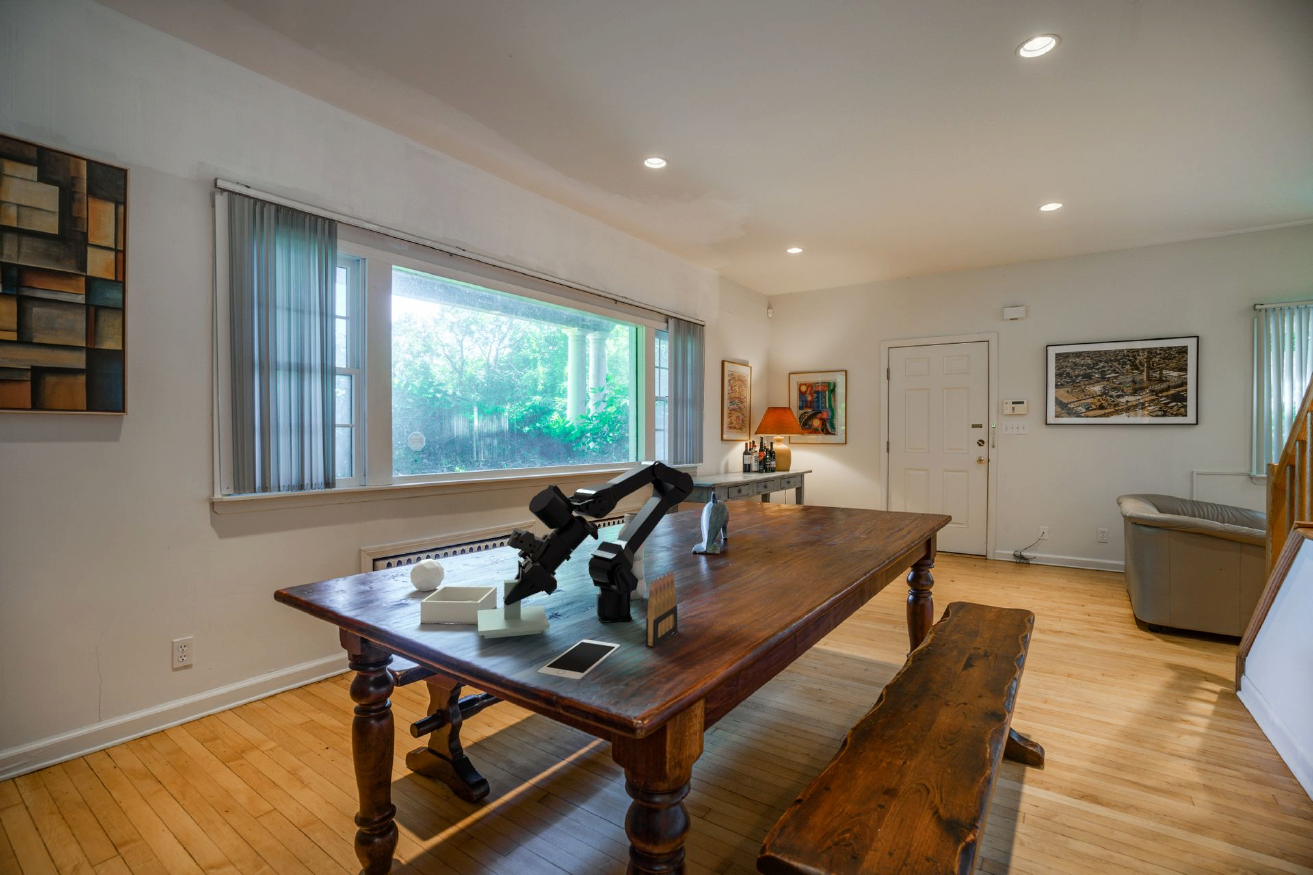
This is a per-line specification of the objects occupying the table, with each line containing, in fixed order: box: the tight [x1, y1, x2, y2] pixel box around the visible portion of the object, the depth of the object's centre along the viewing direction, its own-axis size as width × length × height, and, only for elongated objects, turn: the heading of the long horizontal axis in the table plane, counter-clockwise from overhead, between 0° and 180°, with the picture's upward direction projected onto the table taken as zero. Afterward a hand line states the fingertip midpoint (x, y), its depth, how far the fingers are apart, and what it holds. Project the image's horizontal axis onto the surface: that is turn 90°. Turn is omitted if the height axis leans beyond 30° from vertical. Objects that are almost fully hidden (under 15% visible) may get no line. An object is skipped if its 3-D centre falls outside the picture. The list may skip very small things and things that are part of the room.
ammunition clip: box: [645, 570, 678, 648], centre depth 112 cm, size 11×2×12 cm, turn 155°
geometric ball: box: [409, 558, 445, 592], centre depth 144 cm, size 8×8×8 cm
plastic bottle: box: [617, 512, 647, 601], centre depth 138 cm, size 6×7×20 cm
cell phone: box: [537, 639, 621, 681], centre depth 102 cm, size 8×16×1 cm, turn 159°
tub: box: [420, 585, 498, 626], centre depth 125 cm, size 12×12×4 cm
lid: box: [477, 579, 550, 639], centre depth 113 cm, size 13×13×9 cm
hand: (505, 602), depth 112 cm, fingers closed on lid
